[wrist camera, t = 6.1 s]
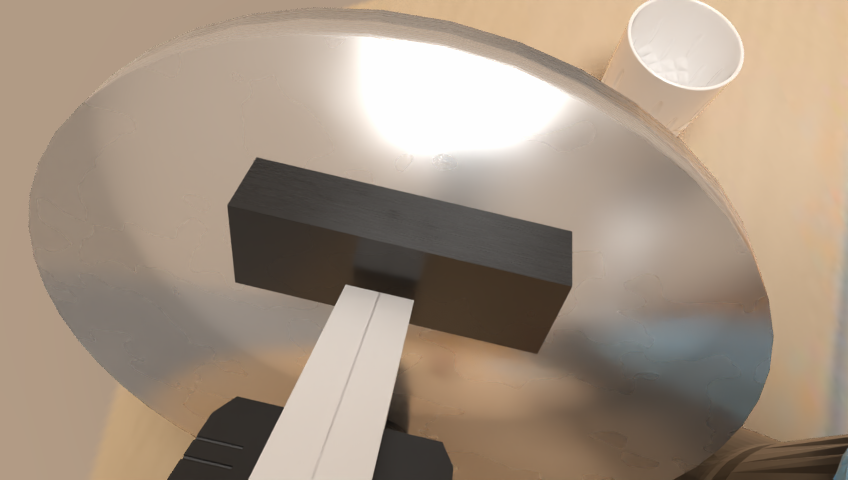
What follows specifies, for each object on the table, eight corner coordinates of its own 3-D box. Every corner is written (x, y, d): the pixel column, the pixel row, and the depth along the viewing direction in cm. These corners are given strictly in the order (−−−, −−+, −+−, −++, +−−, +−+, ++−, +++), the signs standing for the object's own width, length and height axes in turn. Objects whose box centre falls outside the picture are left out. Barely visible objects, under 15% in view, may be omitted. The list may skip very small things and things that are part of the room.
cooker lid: (979, 139, 12) (1126, 319, 9) (589, 530, 27) (591, 646, 24) (-65, -103, 12) (-290, -13, 9) (135, 421, 27) (79, 522, 24)
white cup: (607, 70, 52) (658, -23, 42) (690, 118, 50) (762, 33, 41) (562, 133, 49) (607, 48, 39) (649, 186, 47) (717, 110, 38)
